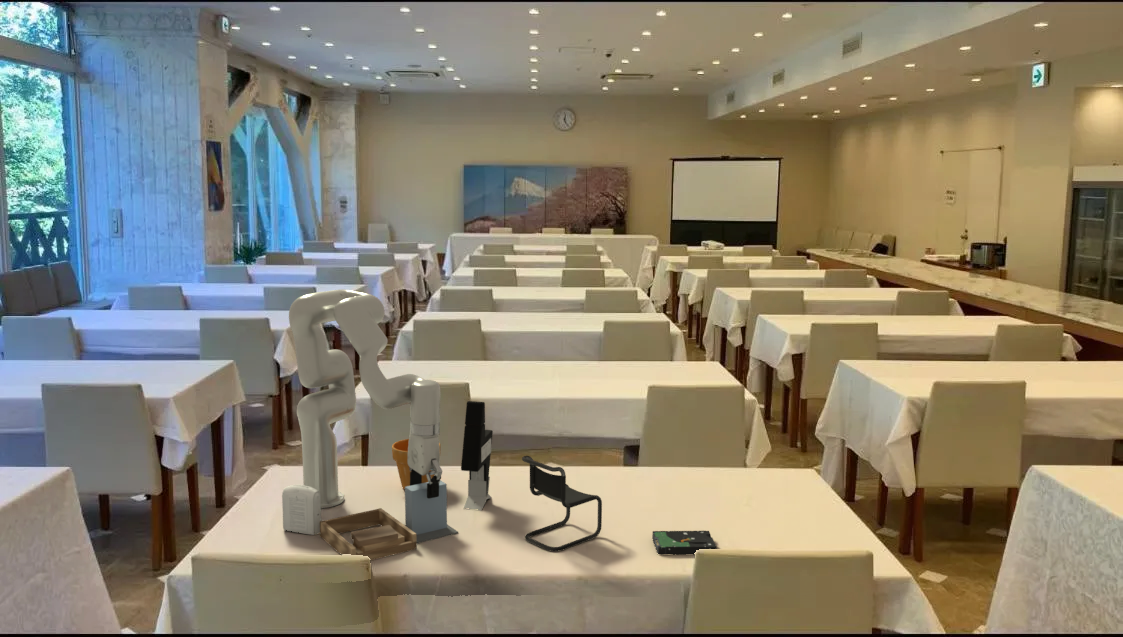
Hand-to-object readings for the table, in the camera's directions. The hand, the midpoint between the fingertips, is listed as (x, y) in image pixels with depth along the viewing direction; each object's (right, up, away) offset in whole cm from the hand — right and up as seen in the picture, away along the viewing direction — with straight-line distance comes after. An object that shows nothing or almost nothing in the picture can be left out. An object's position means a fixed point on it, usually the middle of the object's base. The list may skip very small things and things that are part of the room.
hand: (424, 491), depth 243 cm
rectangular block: (0, -10, +1) cm, 10 cm away
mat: (+1, -11, +1) cm, 11 cm away
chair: (+36, -12, -2) cm, 38 cm away
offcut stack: (-10, -13, -11) cm, 20 cm away
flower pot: (-7, -5, +35) cm, 36 cm away
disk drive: (+67, -13, -7) cm, 68 cm away
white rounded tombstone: (-32, -11, 0) cm, 34 cm away
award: (+12, -8, +21) cm, 26 cm away
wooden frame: (-13, -12, -7) cm, 19 cm away
